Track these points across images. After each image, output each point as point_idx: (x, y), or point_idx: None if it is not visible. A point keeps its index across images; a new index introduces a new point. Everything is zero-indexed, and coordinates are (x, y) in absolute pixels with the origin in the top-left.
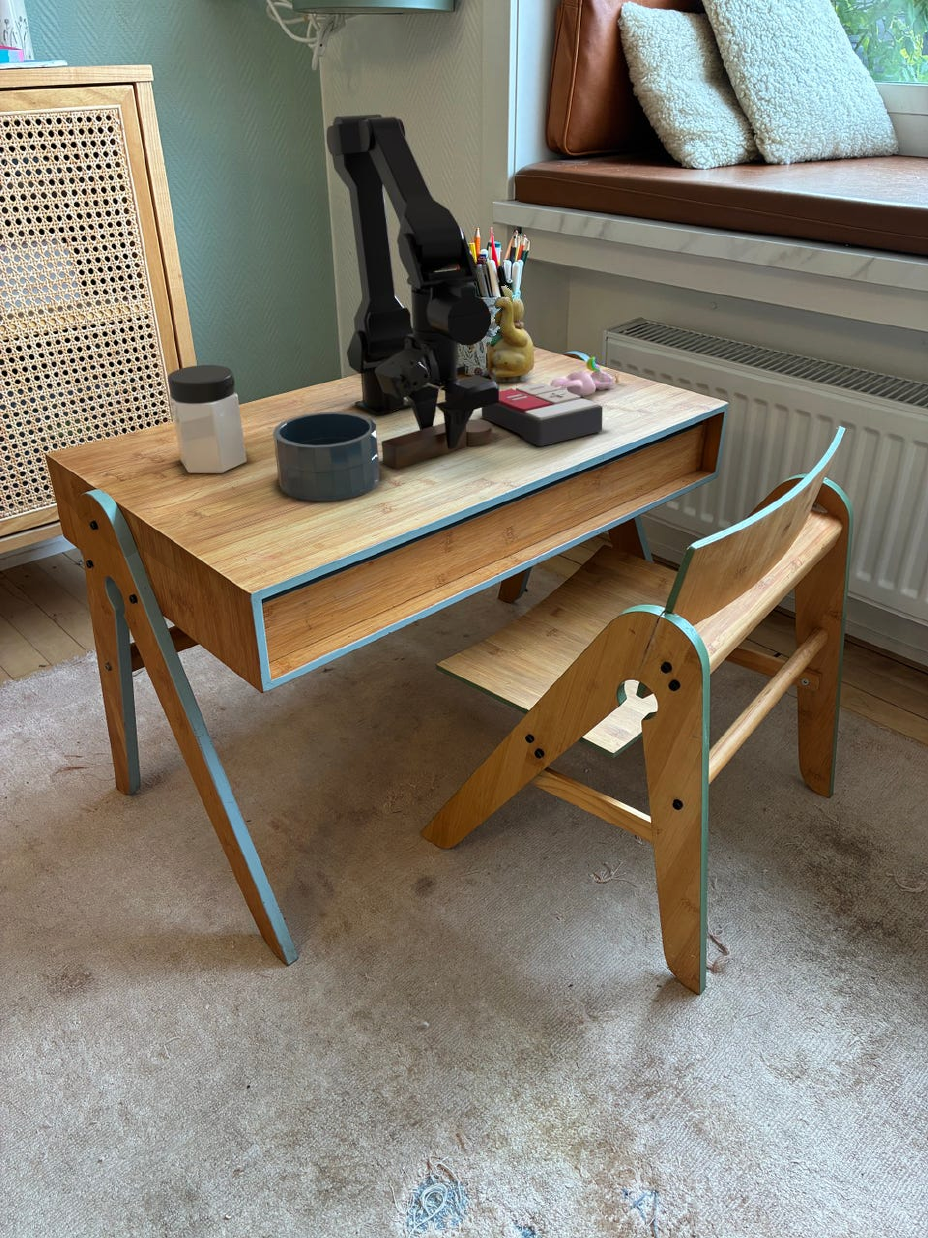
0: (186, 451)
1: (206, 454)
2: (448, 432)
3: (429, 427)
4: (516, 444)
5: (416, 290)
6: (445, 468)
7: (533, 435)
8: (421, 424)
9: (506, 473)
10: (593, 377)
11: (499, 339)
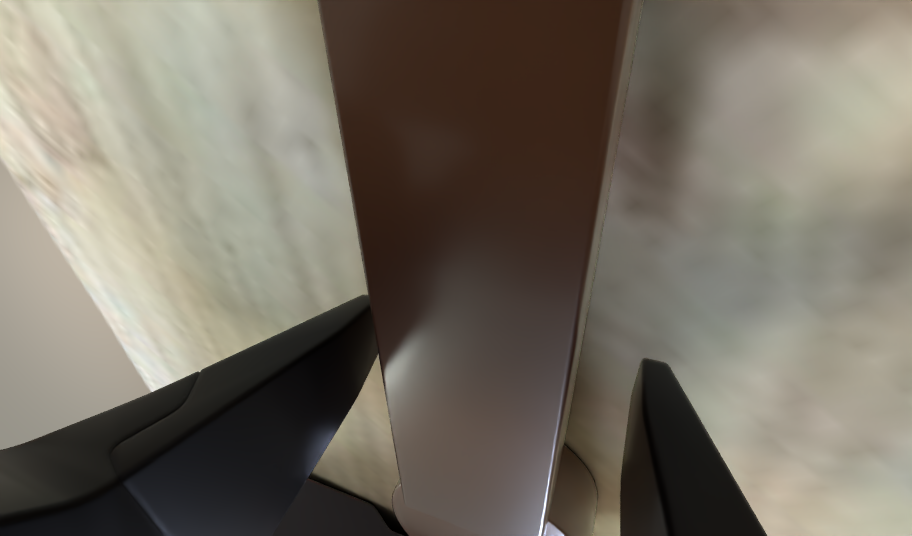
0: None
1: None
2: (254, 355)
3: (549, 423)
4: (358, 472)
5: None
6: (263, 126)
7: (299, 512)
8: (650, 445)
9: (135, 260)
10: None
11: None
